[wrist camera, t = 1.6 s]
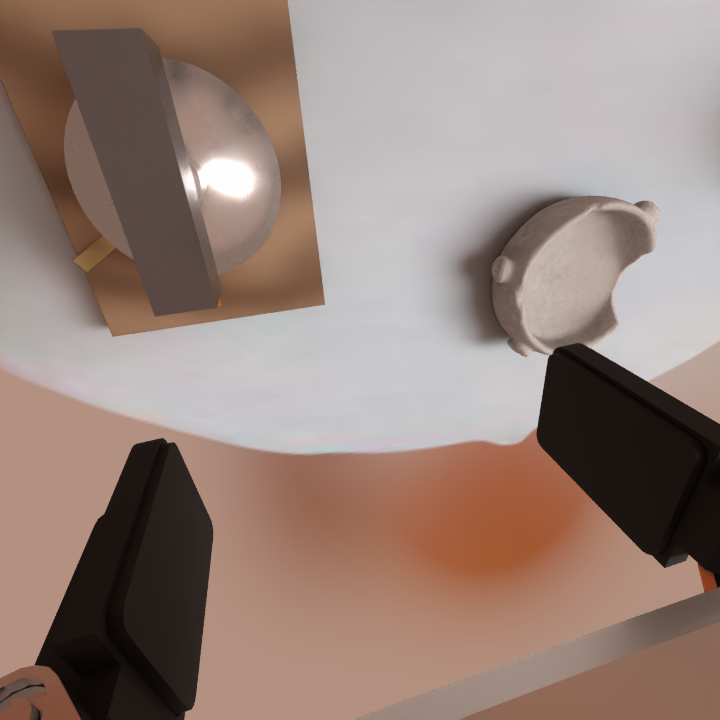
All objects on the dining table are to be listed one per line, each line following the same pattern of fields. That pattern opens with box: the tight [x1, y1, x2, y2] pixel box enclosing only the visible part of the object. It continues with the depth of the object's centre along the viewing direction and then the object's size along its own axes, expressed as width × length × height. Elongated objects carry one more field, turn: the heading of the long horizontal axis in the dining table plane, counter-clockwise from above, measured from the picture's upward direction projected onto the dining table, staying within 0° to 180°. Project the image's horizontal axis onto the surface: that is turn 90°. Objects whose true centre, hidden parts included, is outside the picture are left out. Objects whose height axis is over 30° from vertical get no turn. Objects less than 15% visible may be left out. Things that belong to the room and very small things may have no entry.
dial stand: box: [0, 0, 325, 337], centre depth 26 cm, size 20×16×2 cm
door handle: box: [51, 28, 281, 317], centre depth 21 cm, size 14×12×10 cm
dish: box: [492, 196, 659, 357], centre depth 35 cm, size 14×14×5 cm
